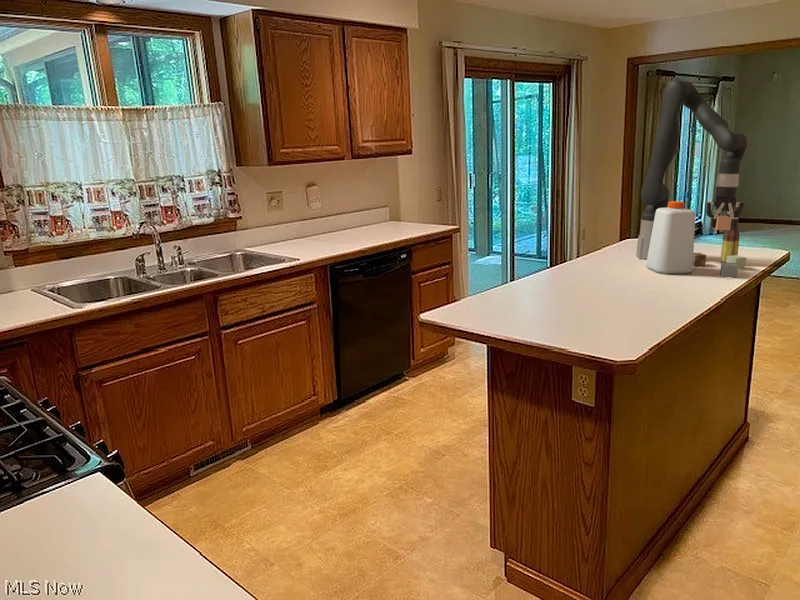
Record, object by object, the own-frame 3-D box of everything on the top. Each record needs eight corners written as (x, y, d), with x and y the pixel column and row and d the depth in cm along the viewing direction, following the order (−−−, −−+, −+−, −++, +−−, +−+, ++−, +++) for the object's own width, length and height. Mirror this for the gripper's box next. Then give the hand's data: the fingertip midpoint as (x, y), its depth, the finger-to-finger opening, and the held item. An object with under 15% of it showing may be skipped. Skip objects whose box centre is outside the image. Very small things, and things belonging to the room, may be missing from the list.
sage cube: (734, 270, 241) (736, 258, 240) (725, 267, 246) (727, 255, 245) (744, 269, 243) (746, 257, 241) (735, 266, 247) (736, 255, 246)
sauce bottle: (732, 262, 255) (739, 216, 249) (739, 265, 249) (746, 218, 243) (716, 262, 255) (723, 216, 250) (722, 265, 249) (729, 218, 244)
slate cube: (721, 277, 230) (723, 264, 228) (719, 274, 234) (721, 262, 233) (736, 278, 228) (738, 265, 227) (733, 275, 233) (735, 263, 231)
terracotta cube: (716, 229, 235) (718, 217, 234) (712, 227, 240) (713, 215, 239) (730, 230, 234) (731, 217, 233) (725, 228, 239) (727, 215, 238)
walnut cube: (693, 267, 248) (695, 255, 246) (687, 264, 252) (688, 253, 251) (705, 266, 248) (706, 255, 247) (697, 264, 253) (699, 252, 252)
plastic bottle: (696, 274, 235) (705, 203, 227) (659, 275, 234) (667, 204, 226) (676, 265, 250) (684, 199, 242) (642, 266, 249) (649, 200, 241)
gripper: (742, 184, 235) (736, 226, 240) (704, 184, 237) (699, 226, 242) (750, 186, 228) (743, 229, 232) (711, 185, 230) (705, 229, 235)
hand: (721, 227), depth 237 cm, fingers closed on terracotta cube, 5 cm apart
